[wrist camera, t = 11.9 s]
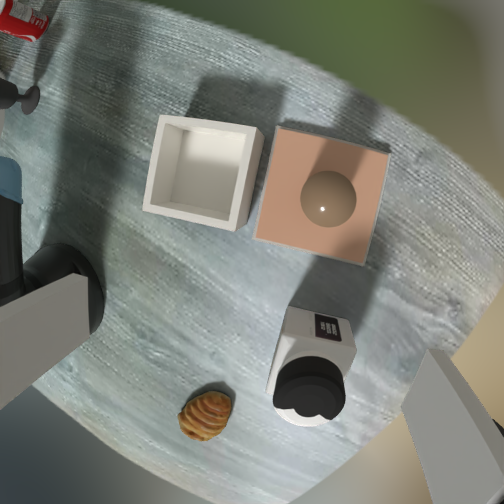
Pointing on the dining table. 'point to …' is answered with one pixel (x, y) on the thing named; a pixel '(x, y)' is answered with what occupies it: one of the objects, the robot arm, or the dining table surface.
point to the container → (311, 367)
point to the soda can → (22, 20)
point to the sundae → (18, 97)
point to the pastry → (205, 415)
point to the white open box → (203, 171)
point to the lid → (321, 195)
